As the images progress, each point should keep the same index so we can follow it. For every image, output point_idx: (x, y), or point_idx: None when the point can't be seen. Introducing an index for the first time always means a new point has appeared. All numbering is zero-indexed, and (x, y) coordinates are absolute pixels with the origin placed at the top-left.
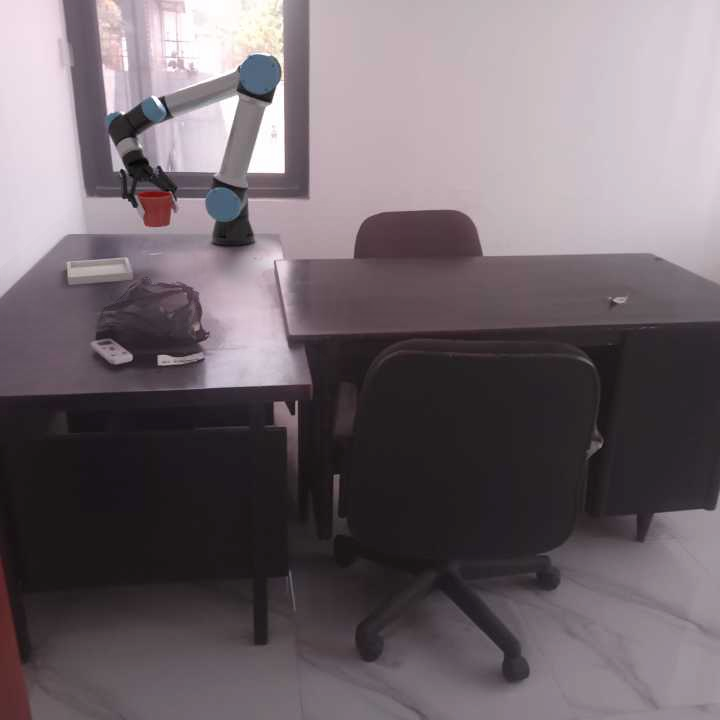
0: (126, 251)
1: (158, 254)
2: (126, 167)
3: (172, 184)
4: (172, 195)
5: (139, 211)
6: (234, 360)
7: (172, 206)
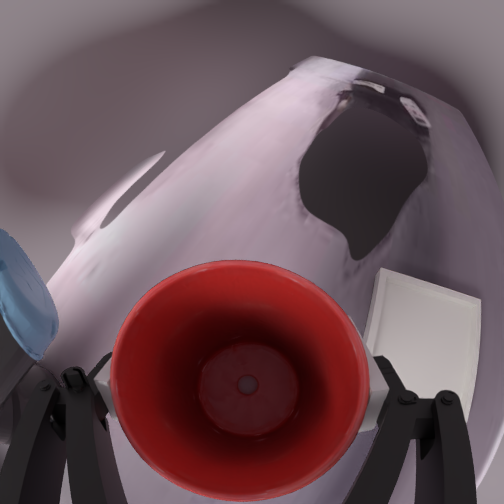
0: None
1: None
2: None
3: (39, 405)
4: (142, 299)
5: None
6: (336, 72)
7: None
